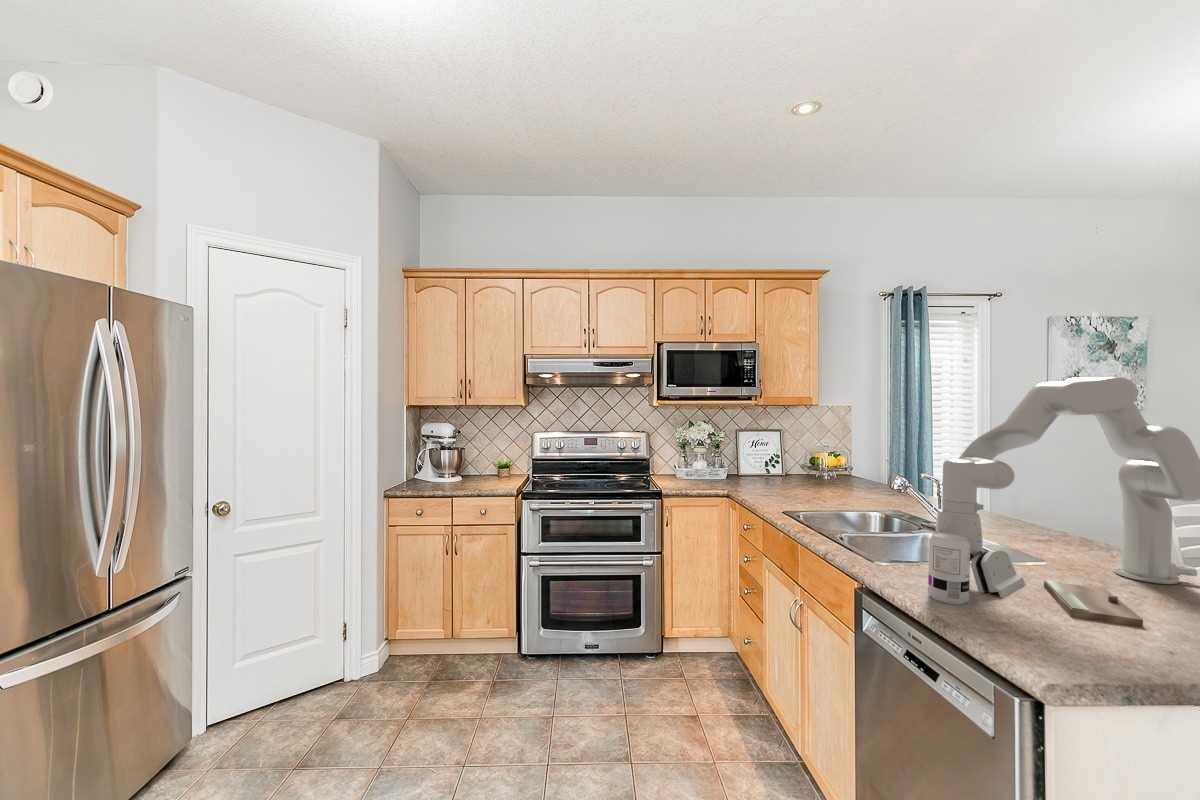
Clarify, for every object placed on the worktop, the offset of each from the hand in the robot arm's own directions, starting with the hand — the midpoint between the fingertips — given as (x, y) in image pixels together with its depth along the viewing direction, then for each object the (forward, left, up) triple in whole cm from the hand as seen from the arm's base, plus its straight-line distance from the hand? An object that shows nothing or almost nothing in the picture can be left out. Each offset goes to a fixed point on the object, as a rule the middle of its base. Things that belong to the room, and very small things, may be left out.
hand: (957, 577), depth 144 cm
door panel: (-25, +5, -1) cm, 26 cm away
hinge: (-8, 0, -1) cm, 8 cm away
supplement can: (+4, +16, -1) cm, 16 cm away
